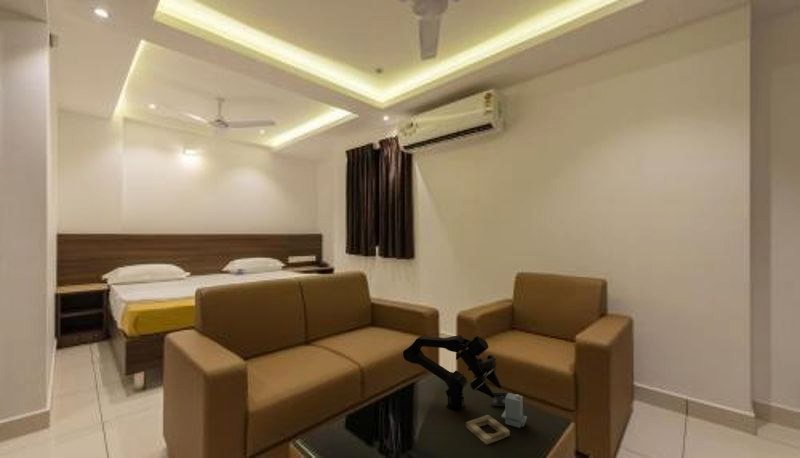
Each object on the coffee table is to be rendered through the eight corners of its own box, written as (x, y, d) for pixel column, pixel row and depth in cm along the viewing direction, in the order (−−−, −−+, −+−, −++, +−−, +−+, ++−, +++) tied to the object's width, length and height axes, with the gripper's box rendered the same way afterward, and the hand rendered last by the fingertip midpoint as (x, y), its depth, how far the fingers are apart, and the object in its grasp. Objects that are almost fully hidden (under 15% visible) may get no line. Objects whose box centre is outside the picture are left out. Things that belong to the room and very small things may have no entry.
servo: (501, 422, 146) (501, 394, 145) (504, 417, 150) (504, 389, 149) (524, 429, 141) (524, 399, 140) (526, 423, 145) (526, 394, 144)
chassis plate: (466, 427, 143) (466, 422, 143) (488, 419, 148) (488, 414, 148) (486, 444, 132) (486, 439, 132) (509, 435, 137) (509, 430, 137)
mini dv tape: (508, 404, 159) (508, 391, 159) (508, 406, 158) (508, 393, 158) (489, 403, 160) (489, 391, 160) (490, 405, 159) (490, 392, 159)
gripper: (477, 359, 143) (504, 392, 137) (491, 344, 159) (516, 373, 153) (459, 373, 147) (485, 406, 142) (474, 358, 163) (498, 386, 158)
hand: (497, 392), depth 148 cm, fingers open, 9 cm apart
